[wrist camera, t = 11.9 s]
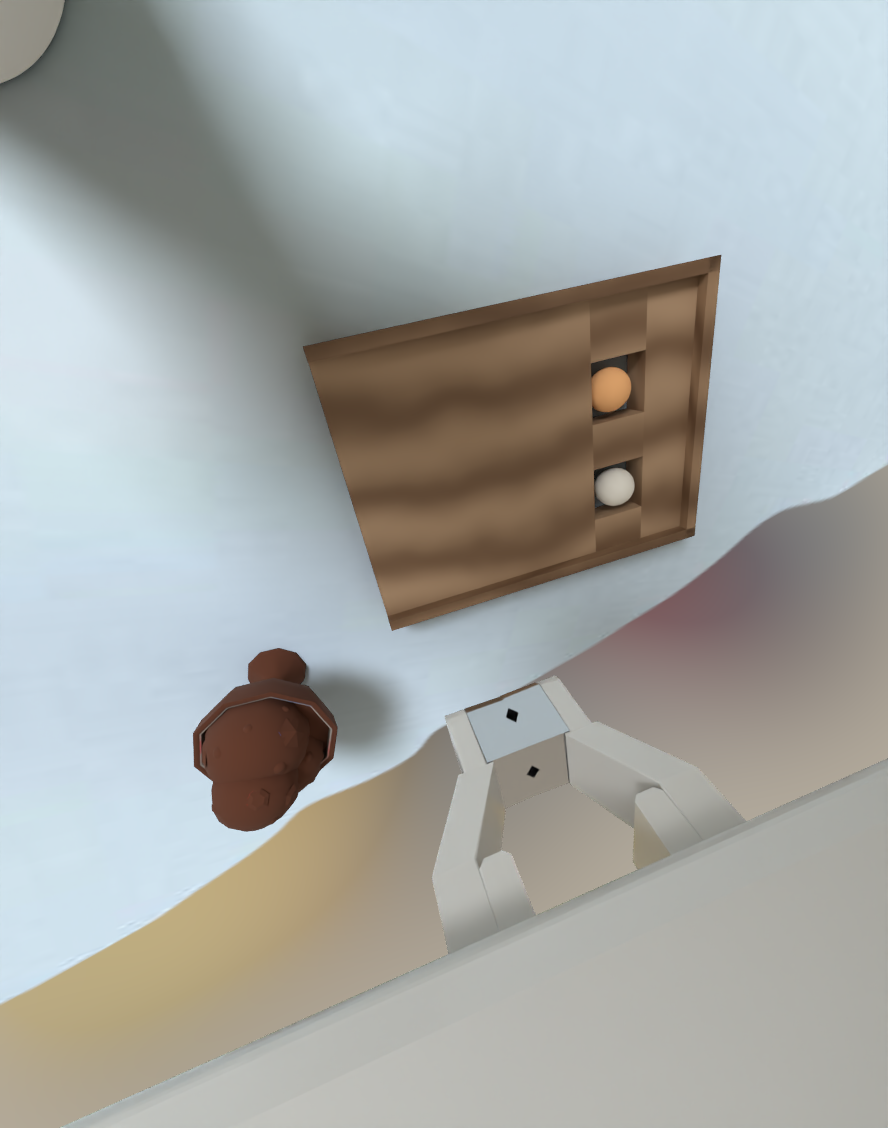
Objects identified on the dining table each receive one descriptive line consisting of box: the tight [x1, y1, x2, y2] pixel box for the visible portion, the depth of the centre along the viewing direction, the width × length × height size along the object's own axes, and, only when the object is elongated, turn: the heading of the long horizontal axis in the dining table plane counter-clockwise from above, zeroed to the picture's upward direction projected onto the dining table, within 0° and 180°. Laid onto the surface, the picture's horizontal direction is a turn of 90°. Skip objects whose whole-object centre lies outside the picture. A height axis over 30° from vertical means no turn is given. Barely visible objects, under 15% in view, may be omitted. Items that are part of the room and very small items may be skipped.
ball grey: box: [594, 468, 635, 506], centre depth 42 cm, size 4×4×4 cm
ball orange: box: [591, 367, 631, 412], centre depth 37 cm, size 4×4×4 cm
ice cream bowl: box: [193, 648, 337, 832], centre depth 37 cm, size 11×11×15 cm
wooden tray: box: [303, 255, 721, 631], centre depth 38 cm, size 24×32×4 cm
